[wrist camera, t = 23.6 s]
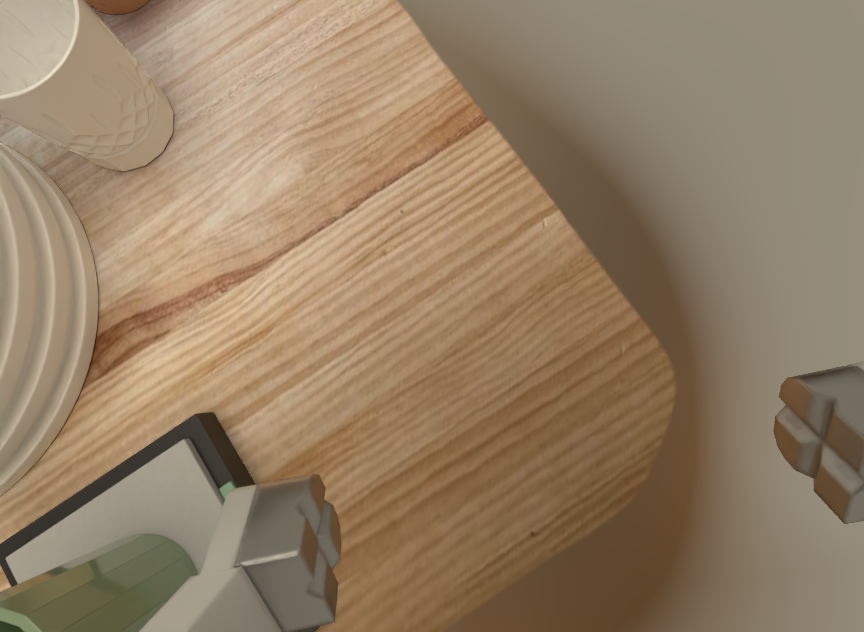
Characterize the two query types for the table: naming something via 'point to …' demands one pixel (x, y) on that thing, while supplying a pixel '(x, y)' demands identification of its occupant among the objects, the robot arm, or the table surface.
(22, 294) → the plate stack
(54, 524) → the scale
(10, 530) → the table surface
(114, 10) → the potted plant
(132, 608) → the tumbler
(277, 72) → the table surface
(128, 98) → the white cup
